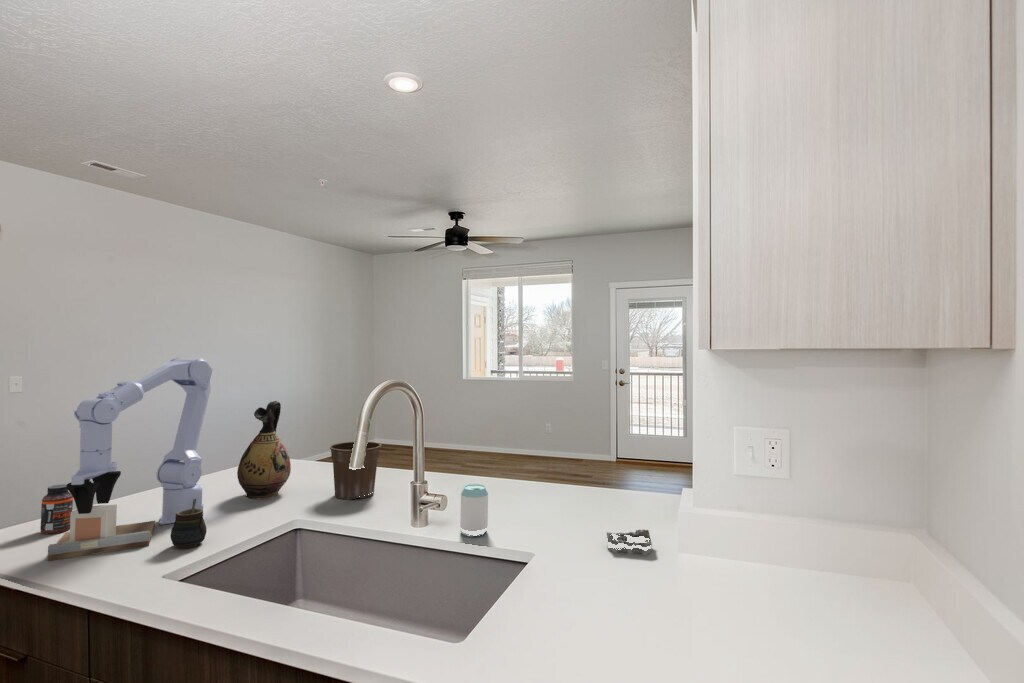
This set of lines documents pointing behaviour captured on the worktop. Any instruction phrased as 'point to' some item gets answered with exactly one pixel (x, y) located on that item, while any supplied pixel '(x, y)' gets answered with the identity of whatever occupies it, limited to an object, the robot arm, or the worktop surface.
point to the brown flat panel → (119, 531)
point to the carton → (93, 523)
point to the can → (474, 508)
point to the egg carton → (623, 540)
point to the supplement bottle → (56, 510)
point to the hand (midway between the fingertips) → (94, 508)
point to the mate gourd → (188, 528)
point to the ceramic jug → (265, 458)
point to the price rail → (98, 542)
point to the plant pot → (354, 471)
